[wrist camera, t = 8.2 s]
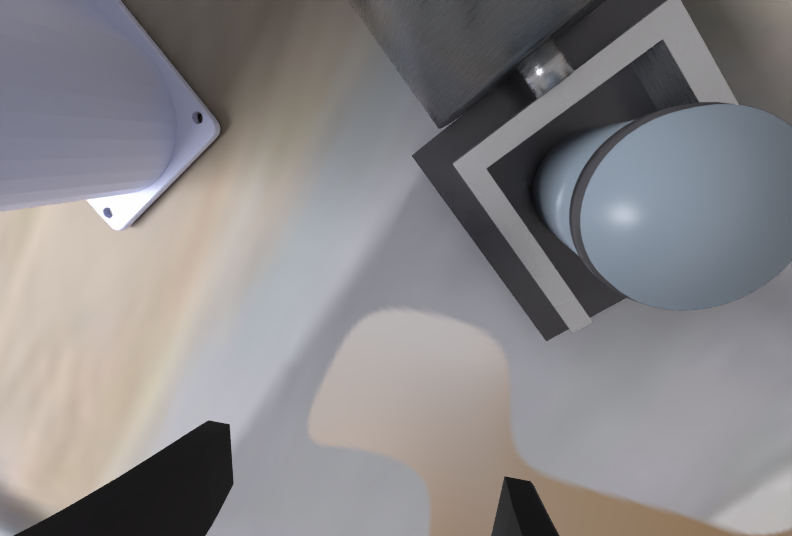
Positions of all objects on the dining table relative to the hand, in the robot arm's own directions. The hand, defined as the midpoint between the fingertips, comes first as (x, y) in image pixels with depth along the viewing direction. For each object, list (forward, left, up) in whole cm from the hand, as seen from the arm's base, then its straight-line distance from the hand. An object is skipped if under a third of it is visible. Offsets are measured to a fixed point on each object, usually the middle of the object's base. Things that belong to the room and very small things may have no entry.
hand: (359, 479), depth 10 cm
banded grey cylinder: (-1, +10, -9) cm, 13 cm away
